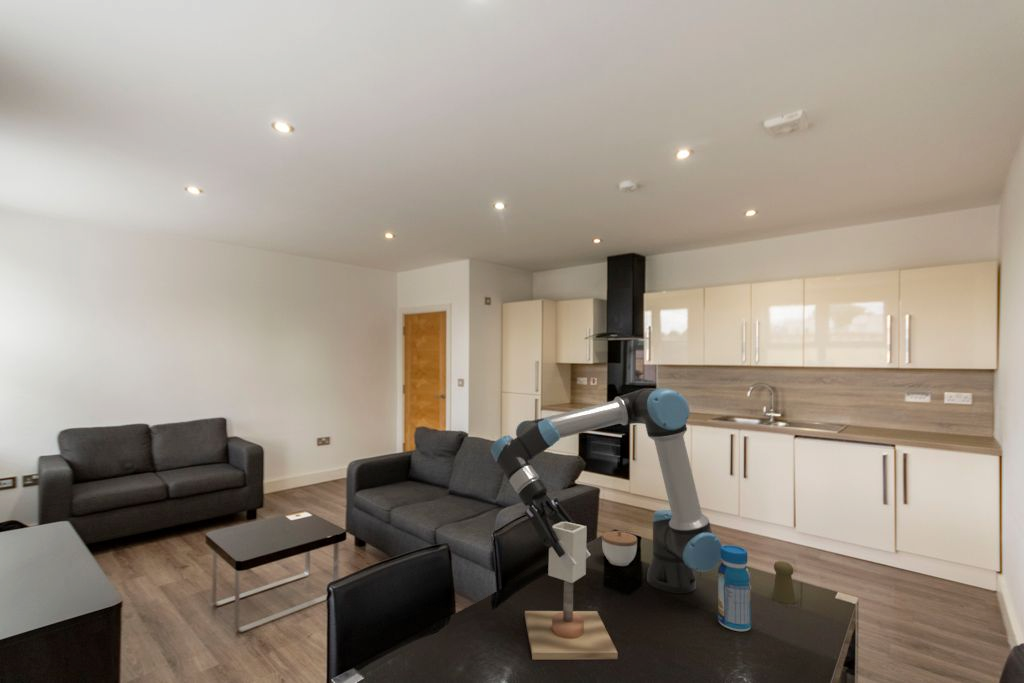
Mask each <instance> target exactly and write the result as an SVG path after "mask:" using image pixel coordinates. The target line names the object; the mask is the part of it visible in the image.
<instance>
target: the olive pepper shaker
mask: <svg viewBox="0 0 1024 683" xmlns="http://www.w3.org/2000/svg"><path fill="white" fill-rule="evenodd" d="M773 570H774V572H775V578H774V584H773V593H772V599H773V598H774V599H775V600H774V601H776V602H778V601H779V602H778V603H780V602H782V603H781V604H784V603H787V604H786V605H794V603H795V604H796V596H795V591H794V590H795V589H794V585H793V579H792V578H793V577H792V575H793V574H794V567H793V565H792V564H791V563H789V562H788V561H787V562H786V561H783V560H782V561H781V560H779V561H775V562H774V564H773Z"/></svg>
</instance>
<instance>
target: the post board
mask: <svg viewBox="0 0 1024 683" xmlns="http://www.w3.org/2000/svg"><path fill="white" fill-rule="evenodd" d="M562 609H563V610H525V611H524V620H525V624H526V631H527V636H528V642H529V647H530V651H531V652H530V653H531V658H532V660H538V661H539V660H540V661H541V660H545V661H546V660H552V661H553V660H557V661H558V660H559V661H560V660H618V659H619V658H618V656H619V655H618V653H619V652H618V651H617V648H616V646H615V645H614V643H613V642H614V641H612V639H611V637H610V634H609V633H608V631H607V629H606V627H605V624H604V623H603V622H604V621H603V620H602V619H601V618H602V617H601V616H600V614H599V613H598V611H597V610H590V611H589V610H587V611H586V610H574V582H573V583H571V582H568V581H565V580H564V582H563V608H562Z"/></svg>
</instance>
